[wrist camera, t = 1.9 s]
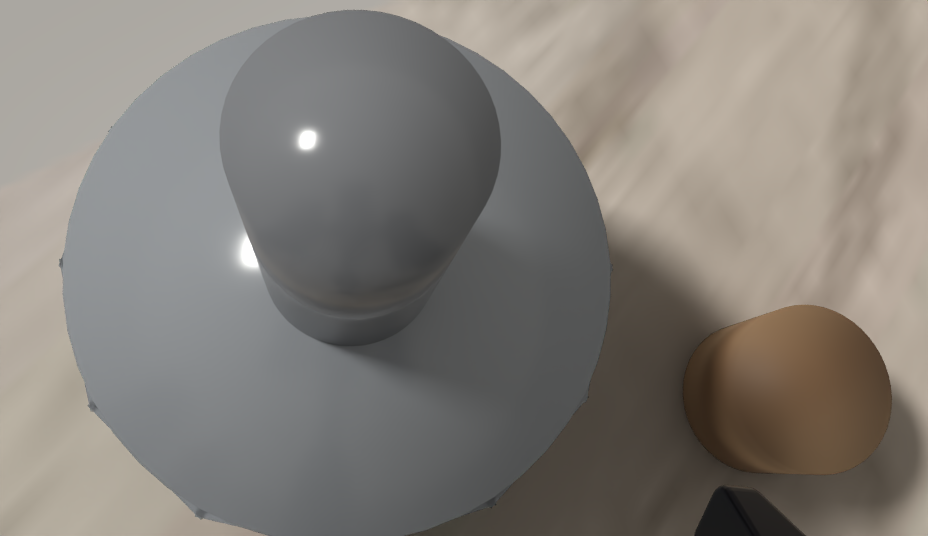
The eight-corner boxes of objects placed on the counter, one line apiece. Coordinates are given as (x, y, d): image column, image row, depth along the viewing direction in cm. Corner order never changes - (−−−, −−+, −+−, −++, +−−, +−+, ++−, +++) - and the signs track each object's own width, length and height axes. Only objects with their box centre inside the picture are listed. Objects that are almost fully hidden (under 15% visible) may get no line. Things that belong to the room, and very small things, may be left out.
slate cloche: (586, 451, 21) (896, 440, 10) (189, 578, 19) (-32, 761, 7) (474, 98, 23) (622, -273, 11) (100, 177, 21) (-190, -180, 9)
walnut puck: (840, 448, 22) (916, 446, 19) (711, 492, 21) (771, 497, 19) (789, 308, 23) (854, 286, 20) (662, 346, 22) (711, 329, 19)
